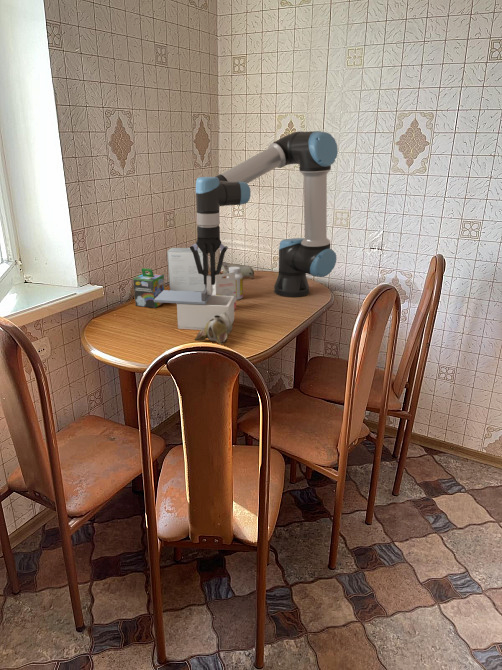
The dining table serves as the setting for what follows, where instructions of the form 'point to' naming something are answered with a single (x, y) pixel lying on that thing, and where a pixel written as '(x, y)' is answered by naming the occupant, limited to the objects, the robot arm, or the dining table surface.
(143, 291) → the chalk box
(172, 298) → the lid
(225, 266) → the decorative bird
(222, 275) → the ink cartridge box
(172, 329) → the dining table surface
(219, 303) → the box
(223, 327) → the ceramic sculpture
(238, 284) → the supplement bottle
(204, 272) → the robot arm
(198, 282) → the hard drive box
